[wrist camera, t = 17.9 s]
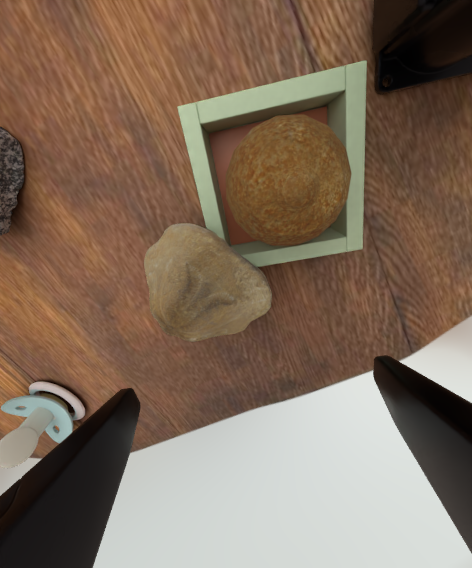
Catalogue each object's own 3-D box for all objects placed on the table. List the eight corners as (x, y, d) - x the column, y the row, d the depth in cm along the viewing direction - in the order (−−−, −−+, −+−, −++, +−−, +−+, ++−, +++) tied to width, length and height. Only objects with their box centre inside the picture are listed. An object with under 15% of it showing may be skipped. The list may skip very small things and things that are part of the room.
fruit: (218, 143, 16) (198, 116, 8) (316, 118, 15) (389, 63, 8) (239, 237, 18) (237, 279, 11) (324, 219, 17) (383, 251, 10)
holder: (339, 85, 15) (367, 59, 12) (341, 236, 19) (362, 249, 15) (190, 120, 16) (176, 106, 12) (221, 257, 20) (217, 274, 16)
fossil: (182, 189, 13) (140, 272, 20) (125, 231, 10) (101, 308, 18) (299, 295, 15) (220, 335, 22) (277, 356, 12) (195, 378, 19)
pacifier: (43, 367, 25) (12, 394, 27) (-14, 423, 19) (-50, 453, 21) (100, 406, 27) (68, 429, 29) (64, 466, 22) (27, 491, 23)
